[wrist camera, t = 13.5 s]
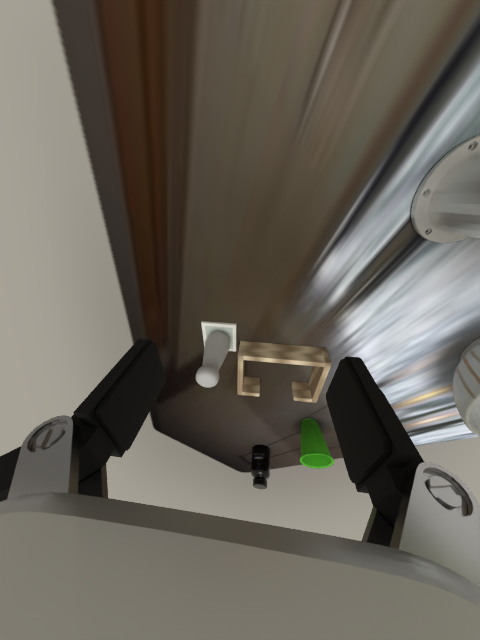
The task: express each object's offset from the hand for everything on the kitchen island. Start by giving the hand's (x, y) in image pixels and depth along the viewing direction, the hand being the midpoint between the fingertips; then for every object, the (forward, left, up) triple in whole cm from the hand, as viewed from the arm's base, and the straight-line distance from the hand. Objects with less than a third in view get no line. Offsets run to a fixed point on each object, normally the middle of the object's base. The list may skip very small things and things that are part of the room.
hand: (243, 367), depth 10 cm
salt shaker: (+8, +21, -28) cm, 36 cm away
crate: (-7, +29, -28) cm, 41 cm away
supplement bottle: (-6, +77, -28) cm, 82 cm away
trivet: (+8, +21, -28) cm, 36 cm away
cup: (-20, +54, -28) cm, 64 cm away
